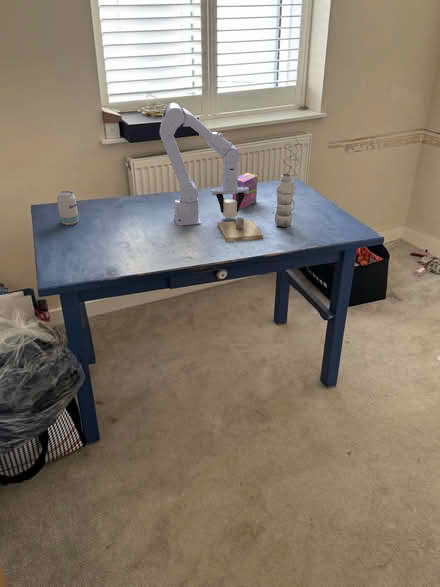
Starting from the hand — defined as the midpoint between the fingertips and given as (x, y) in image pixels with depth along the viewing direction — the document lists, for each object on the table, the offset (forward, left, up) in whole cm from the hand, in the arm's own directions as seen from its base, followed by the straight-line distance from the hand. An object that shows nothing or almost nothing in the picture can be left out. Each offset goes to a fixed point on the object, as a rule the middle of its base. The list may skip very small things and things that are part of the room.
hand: (229, 211), depth 200 cm
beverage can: (-62, +8, -4) cm, 63 cm away
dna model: (+25, +3, -4) cm, 25 cm away
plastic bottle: (+19, -10, -4) cm, 22 cm away
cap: (0, 0, -1) cm, 1 cm away
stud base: (+1, -13, -3) cm, 13 cm away
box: (+10, +15, -4) cm, 18 cm away
